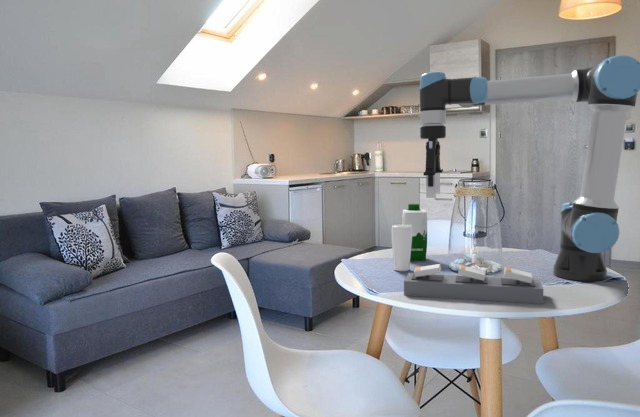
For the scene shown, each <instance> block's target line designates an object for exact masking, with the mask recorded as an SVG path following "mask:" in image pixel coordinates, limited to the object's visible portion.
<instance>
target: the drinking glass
mask: <svg viewBox="0 0 640 417" xmlns="http://www.w3.org/2000/svg"><path fill="white" fill-rule="evenodd" d="M411 246H412V226H411V225H404V224H392V226H391V247H392V257H393V269H394V270H395V271H396V272H408V271H410V270H411V261H410V257H411Z"/></svg>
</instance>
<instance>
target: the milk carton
mask: <svg viewBox="0 0 640 417" xmlns="http://www.w3.org/2000/svg"><path fill="white" fill-rule="evenodd" d="M402 224H404V225H411V226H412V246H411V257H410V262H426V260H427V249H428V248H427V247H428V212H427V211H426V210H425V209H422V208H421V209H420V204H419V203H408V206H407V208H406V209H402Z"/></svg>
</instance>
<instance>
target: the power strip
mask: <svg viewBox="0 0 640 417" xmlns="http://www.w3.org/2000/svg"><path fill="white" fill-rule="evenodd" d="M403 296H413V297H415V296H416V297H428V298H429V297H430V298H444V299H445V298H447V299H461V300H474V301H493V302H504V303H505V302H507V303H518V304H519V303H521V304H537V305H544V286H543V284H542V282H541V280H540V279H532V283H528V282H524V281H520V280H516V279H512V278H508V277H498V276H497V277H496V276H495V277H493V276H485V279H484V281H483V280H479V279H475V278H471V277H467V276H463V275H459V274H458V275H456V274H440V273H438V274H432V275H425V276H419V277H415V274H414V272H408V274H407V275H406V277H405V279H404V280H403Z"/></svg>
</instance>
